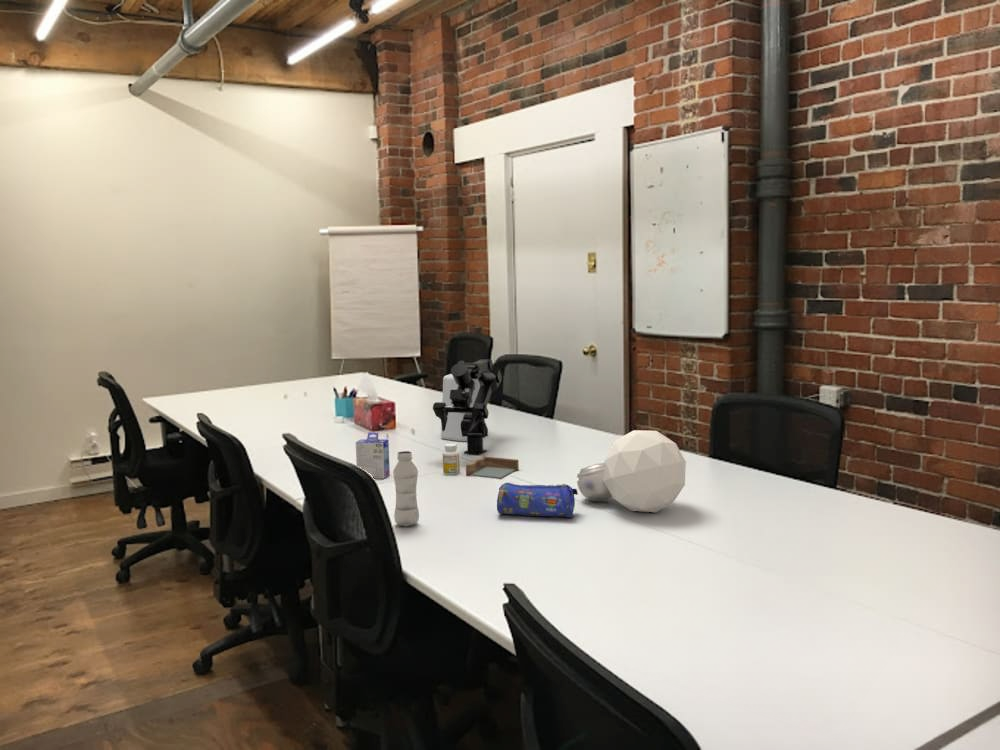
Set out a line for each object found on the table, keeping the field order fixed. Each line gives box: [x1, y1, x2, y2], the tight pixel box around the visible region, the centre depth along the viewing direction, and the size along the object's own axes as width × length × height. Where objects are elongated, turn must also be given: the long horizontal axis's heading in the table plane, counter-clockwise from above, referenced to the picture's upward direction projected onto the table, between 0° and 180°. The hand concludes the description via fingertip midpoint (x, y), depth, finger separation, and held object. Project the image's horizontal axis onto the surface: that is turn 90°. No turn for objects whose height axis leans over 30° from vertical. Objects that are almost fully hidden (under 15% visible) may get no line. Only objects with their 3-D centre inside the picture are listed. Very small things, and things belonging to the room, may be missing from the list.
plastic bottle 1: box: [392, 450, 420, 527], centre depth 228 cm, size 6×7×20 cm
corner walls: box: [465, 456, 520, 477], centre depth 281 cm, size 13×13×4 cm
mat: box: [470, 466, 516, 480], centre depth 281 cm, size 11×11×1 cm
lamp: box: [576, 429, 687, 513], centre depth 240 cm, size 22×34×24 cm, turn 49°
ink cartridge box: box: [355, 432, 391, 480], centre depth 279 cm, size 10×6×14 cm, turn 78°
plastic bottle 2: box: [440, 373, 486, 443], centre depth 334 cm, size 15×15×28 cm
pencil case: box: [496, 482, 579, 519], centre depth 235 cm, size 22×9×10 cm, turn 78°
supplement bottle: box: [442, 442, 460, 476], centre depth 281 cm, size 5×5×10 cm
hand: (455, 431), depth 288 cm, fingers open, 9 cm apart
